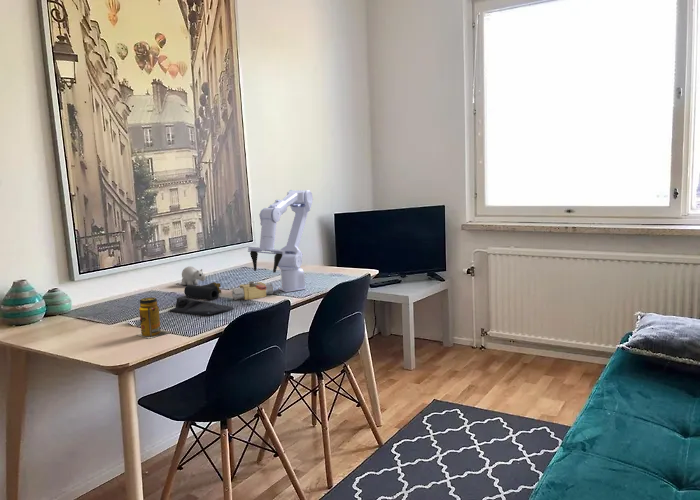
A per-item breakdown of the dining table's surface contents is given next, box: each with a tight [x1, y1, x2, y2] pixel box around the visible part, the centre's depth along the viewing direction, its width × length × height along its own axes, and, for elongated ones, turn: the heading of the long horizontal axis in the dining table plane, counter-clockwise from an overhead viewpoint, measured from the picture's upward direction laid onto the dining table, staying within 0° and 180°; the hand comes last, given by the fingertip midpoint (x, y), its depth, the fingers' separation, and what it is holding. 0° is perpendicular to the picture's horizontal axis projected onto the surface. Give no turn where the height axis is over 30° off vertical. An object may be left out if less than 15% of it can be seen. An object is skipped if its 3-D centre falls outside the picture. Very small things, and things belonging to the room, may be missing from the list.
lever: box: [248, 280, 266, 290], centre depth 239 cm, size 13×3×1 cm, turn 30°
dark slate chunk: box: [169, 297, 234, 316], centre depth 226 cm, size 15×22×5 cm
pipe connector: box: [183, 282, 222, 301], centre depth 249 cm, size 12×5×15 cm
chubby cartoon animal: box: [181, 266, 207, 286], centre depth 271 cm, size 7×12×8 cm, turn 66°
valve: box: [231, 281, 274, 301], centre depth 244 cm, size 16×6×5 cm, turn 120°
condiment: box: [137, 296, 170, 339], centre depth 195 cm, size 7×8×12 cm
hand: (264, 271), depth 237 cm, fingers open, 7 cm apart
